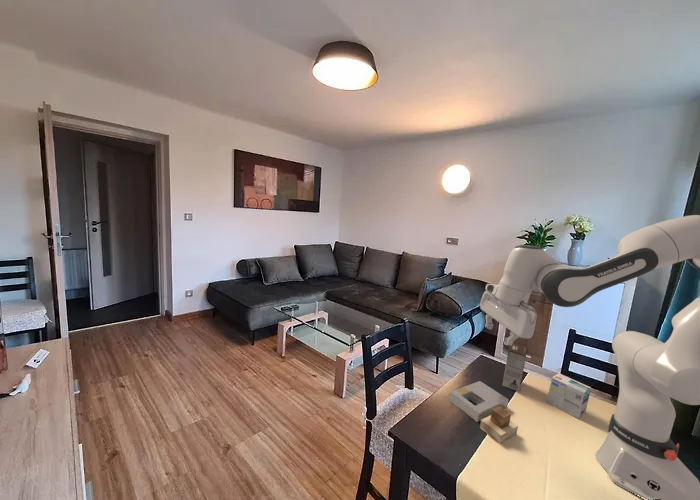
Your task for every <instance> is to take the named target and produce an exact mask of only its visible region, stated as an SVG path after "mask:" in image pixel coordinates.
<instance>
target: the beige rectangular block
mask: <svg viewBox="0 0 700 500" xmlns="http://www.w3.org/2000/svg"><path fill="white" fill-rule="evenodd" d="M490 418H491V415H490V416H488V417H486V418H484V419H482V420H481V421H480V425H479V429H480V430H482V431H483V432H484V433H485V432H486V433H485V434H487V435H488V436H489V437H490V436H491V437H490V438H492V439H493V440H494V441H495V442H497V443H498V444H499V445H500V444H502V443H504V442H506V441H507V440H509V439H511V438H512V437H514V436H516V435H517V432H518V428H519V426H518V425H517V424H515V423H514V422H513V421H512V420H510V423H509V426H507V427H505V428H503V429H501V428H499V427H498V426H497V425H495V424H494V423H493V422H491V421H490Z"/></svg>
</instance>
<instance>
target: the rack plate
mask: <svg viewBox="0 0 700 500" xmlns="http://www.w3.org/2000/svg"><path fill="white" fill-rule="evenodd" d="M448 400H449V402H451V403H452V404H453V405H455V406H456V407H457V408H459V409H460V410H461V411H463V412H464V413H465V414H466V415H467V416H468V417H470V418H471V419H472V420H473V421H475V422H476V423H479V422H481V420H482V419H484V418H486V417H488V416H490V415H491V413H492V409H495V408H497V407H499V406H500V407H501V408H503V409H504V410H506V409H507V408H508V406H509V405H508V404H509V398H507V397H506V396H505V395H502V394H501V393H499V392H498V391H496V390H495V389H493V388H492V387H490V386H488V385H487V384H485V383H484V382H482V381H480V380H478V381H475V382H473V383H470V384H468V385H465V386H463V387H460V388H457V389H454V390H451V391H450V394H449V399H448ZM470 401H472V402H473V403H474V404H473V403H472V402H470ZM475 404H476V405H475Z"/></svg>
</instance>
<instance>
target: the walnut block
mask: <svg viewBox="0 0 700 500" xmlns="http://www.w3.org/2000/svg"><path fill="white" fill-rule="evenodd" d="M511 416H512V413H511V412H509V411H507V410H506V409H503V408H501V407H500V406H499V407H497V408H495V409H492V413H491V418H490V421H491V422H493V423H494V424H495V425H497V426H498V427H499V428H501V429H503V428H505V427H507V426H509V423H510V421H511Z"/></svg>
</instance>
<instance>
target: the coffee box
mask: <svg viewBox="0 0 700 500" xmlns="http://www.w3.org/2000/svg"><path fill="white" fill-rule="evenodd" d="M527 353H528V346H524V345H520V344H518V343H514V342H513V344H512V345H509V347H508V352H507V356H506V357H507V358H506V363H505V369H504V373H503V379H502V386H503V387H505V388H508V389H511V390H513V391H515V392H519V391H520V389H521V384H522V381H523V380H522V379H523V374H524V369H525V365H526V358H527Z"/></svg>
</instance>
